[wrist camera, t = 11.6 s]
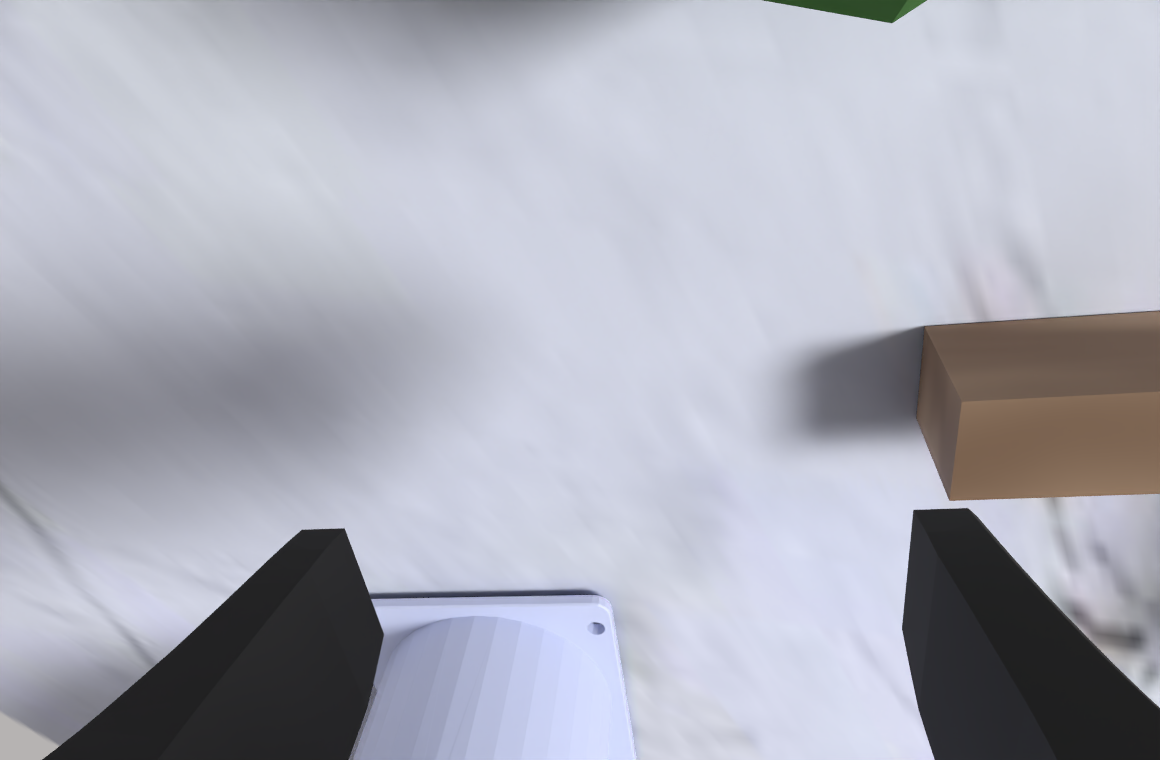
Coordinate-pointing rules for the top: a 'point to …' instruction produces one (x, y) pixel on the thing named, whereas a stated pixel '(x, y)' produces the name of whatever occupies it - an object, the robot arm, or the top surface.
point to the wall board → (1043, 406)
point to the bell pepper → (860, 7)
